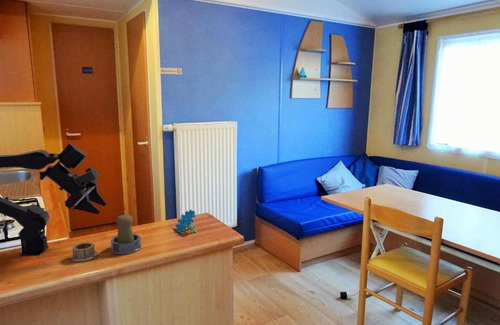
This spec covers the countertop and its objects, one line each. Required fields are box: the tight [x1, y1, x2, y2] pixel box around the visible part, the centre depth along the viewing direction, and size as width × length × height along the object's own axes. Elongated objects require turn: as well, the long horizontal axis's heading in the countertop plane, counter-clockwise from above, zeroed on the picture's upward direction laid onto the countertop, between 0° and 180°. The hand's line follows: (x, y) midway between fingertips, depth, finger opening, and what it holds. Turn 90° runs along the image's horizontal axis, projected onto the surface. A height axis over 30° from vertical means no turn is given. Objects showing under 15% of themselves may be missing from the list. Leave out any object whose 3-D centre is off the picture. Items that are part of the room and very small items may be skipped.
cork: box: [116, 214, 134, 243], centre depth 118 cm, size 6×6×11 cm
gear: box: [175, 209, 198, 234], centre depth 136 cm, size 11×6×10 cm
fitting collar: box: [110, 233, 142, 256], centre depth 119 cm, size 10×10×4 cm
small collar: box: [70, 241, 99, 263], centre depth 112 cm, size 8×8×4 cm
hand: (102, 209), depth 120 cm, fingers open, 9 cm apart
